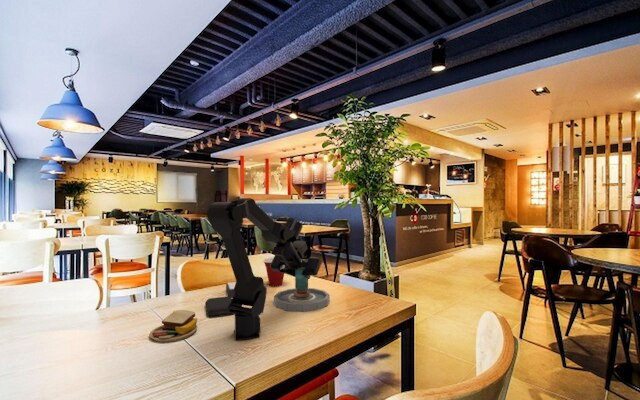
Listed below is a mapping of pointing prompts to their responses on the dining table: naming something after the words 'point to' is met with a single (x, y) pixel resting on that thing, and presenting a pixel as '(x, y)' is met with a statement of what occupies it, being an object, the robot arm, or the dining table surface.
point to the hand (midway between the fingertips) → (303, 277)
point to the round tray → (301, 300)
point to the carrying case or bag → (218, 306)
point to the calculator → (230, 289)
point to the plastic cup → (273, 274)
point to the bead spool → (301, 284)
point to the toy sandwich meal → (175, 326)
